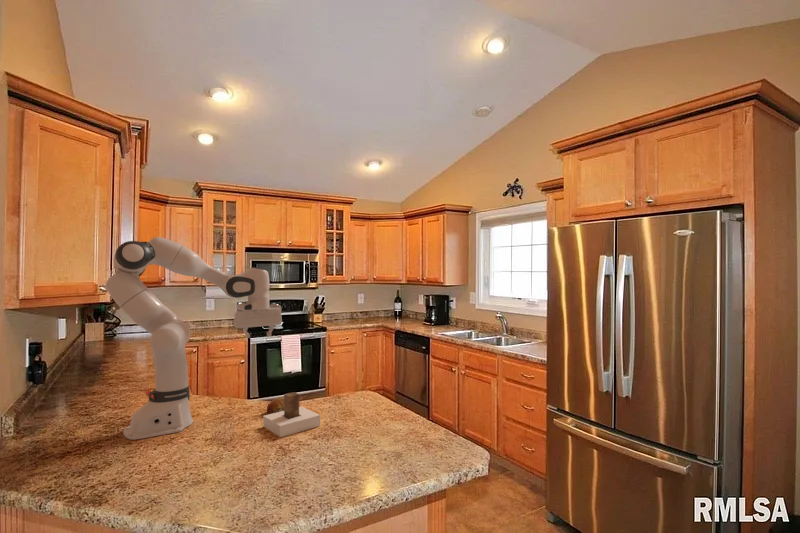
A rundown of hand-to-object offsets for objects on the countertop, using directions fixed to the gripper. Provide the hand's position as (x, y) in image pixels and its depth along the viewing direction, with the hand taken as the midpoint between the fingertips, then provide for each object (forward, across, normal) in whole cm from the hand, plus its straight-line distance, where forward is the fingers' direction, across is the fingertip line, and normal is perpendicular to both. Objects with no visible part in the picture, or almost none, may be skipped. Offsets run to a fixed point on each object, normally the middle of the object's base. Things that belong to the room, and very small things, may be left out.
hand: (258, 336), depth 182 cm
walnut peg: (+30, 0, +32) cm, 43 cm away
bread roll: (+30, -3, +15) cm, 34 cm away
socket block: (+30, 0, +32) cm, 43 cm away
